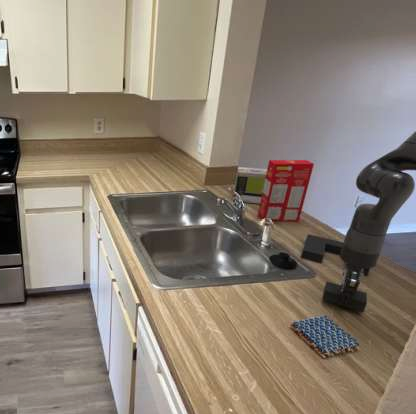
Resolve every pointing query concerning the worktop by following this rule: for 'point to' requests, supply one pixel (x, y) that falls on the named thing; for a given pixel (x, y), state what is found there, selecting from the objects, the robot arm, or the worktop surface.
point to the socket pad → (322, 249)
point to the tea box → (250, 184)
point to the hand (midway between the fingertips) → (343, 299)
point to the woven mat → (324, 336)
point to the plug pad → (334, 292)
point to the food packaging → (285, 190)
